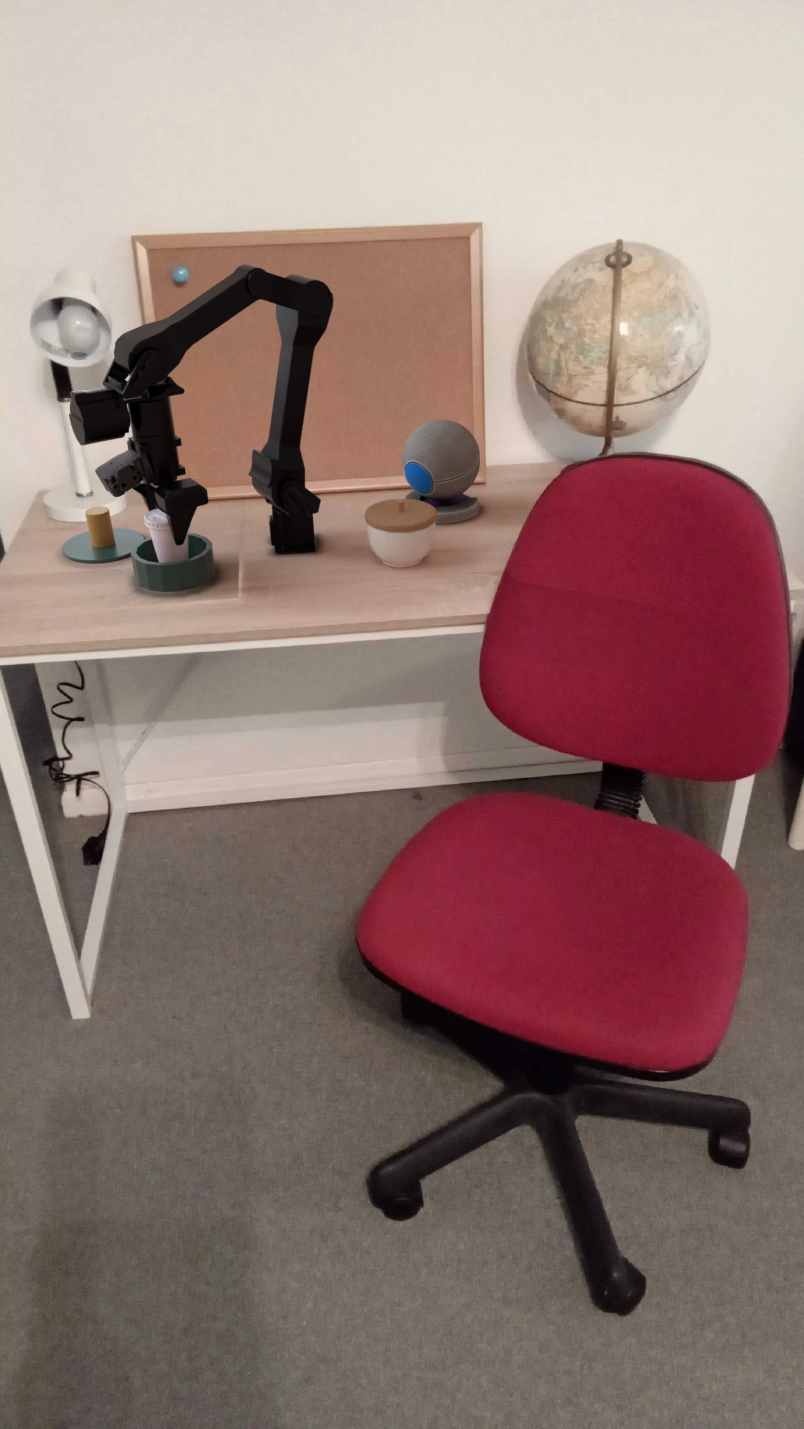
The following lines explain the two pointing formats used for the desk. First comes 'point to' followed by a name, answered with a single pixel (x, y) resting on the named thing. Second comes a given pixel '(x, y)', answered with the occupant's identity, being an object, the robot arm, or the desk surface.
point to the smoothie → (164, 538)
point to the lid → (101, 539)
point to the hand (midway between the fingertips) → (170, 536)
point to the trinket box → (400, 530)
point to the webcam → (442, 468)
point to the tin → (174, 566)
